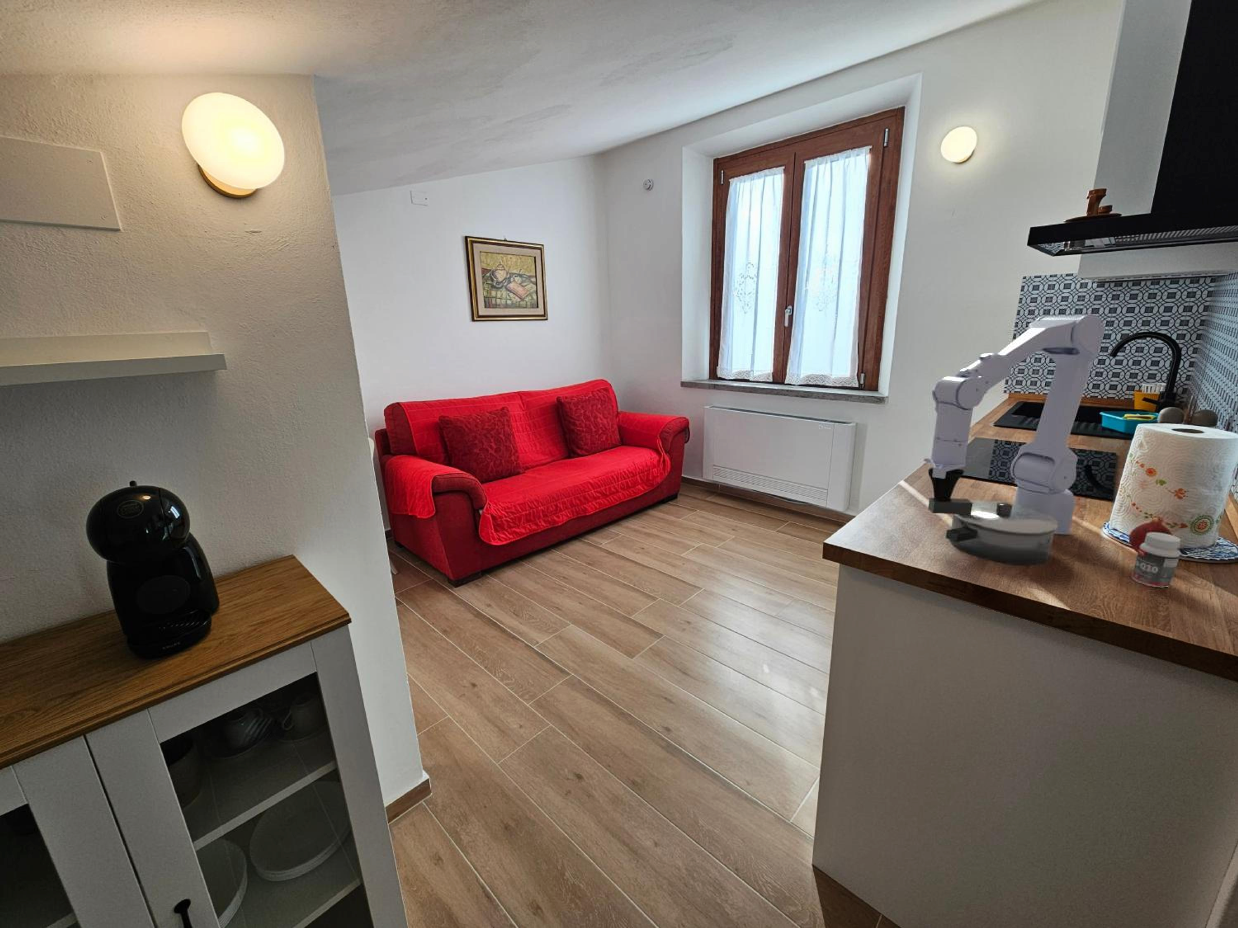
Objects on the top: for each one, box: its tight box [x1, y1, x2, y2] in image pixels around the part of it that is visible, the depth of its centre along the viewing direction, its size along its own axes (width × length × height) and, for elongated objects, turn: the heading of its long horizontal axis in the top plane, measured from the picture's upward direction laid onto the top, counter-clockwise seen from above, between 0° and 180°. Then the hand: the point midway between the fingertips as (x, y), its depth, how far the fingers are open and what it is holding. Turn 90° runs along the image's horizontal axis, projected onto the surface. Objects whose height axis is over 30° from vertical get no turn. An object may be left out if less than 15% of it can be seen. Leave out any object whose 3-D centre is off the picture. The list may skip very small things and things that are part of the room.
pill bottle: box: [1131, 532, 1182, 588], centre depth 87 cm, size 5×5×8 cm
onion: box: [1128, 517, 1174, 554], centre depth 96 cm, size 6×6×8 cm
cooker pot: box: [945, 514, 1055, 566], centre depth 102 cm, size 21×16×6 cm
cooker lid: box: [927, 497, 1058, 535], centre depth 102 cm, size 21×17×3 cm
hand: (941, 504), depth 105 cm, fingers closed
